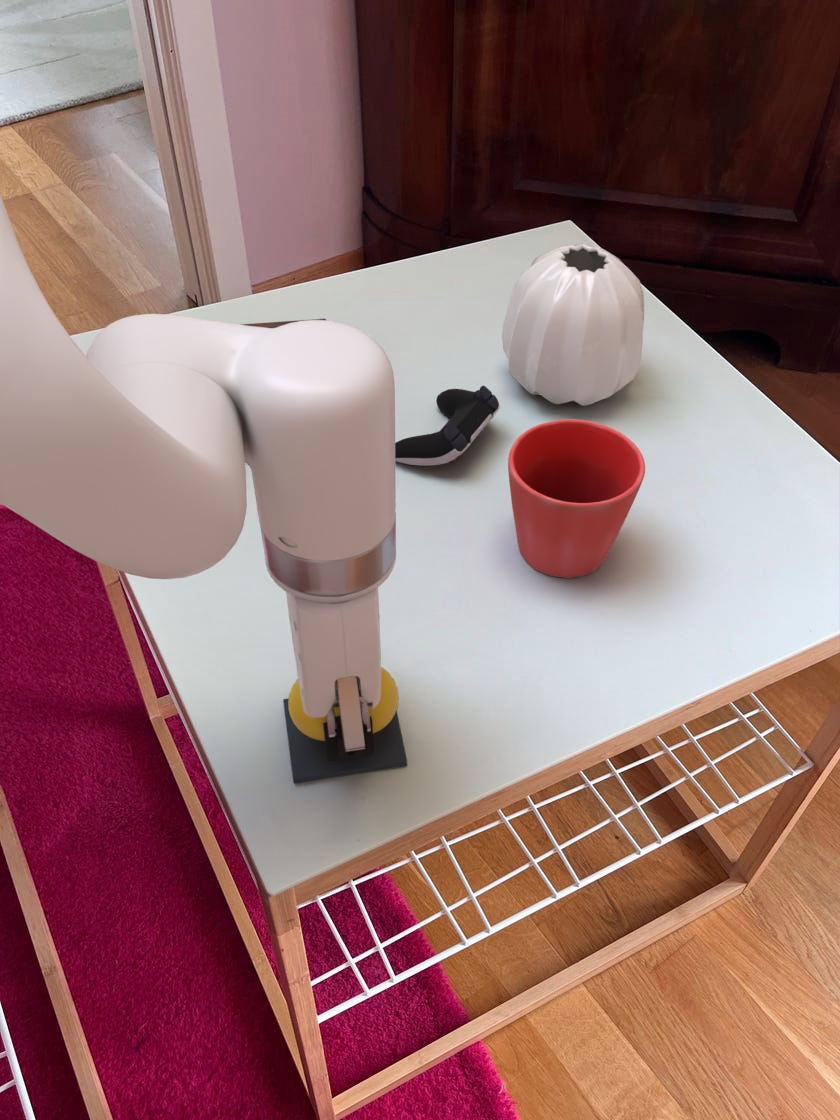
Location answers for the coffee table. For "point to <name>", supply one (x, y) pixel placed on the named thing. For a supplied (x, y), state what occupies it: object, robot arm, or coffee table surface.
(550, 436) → the flower pot
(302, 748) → the mat
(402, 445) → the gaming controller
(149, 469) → the robot arm
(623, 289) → the vase
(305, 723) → the yellow grooved capsule
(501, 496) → the coffee table surface
